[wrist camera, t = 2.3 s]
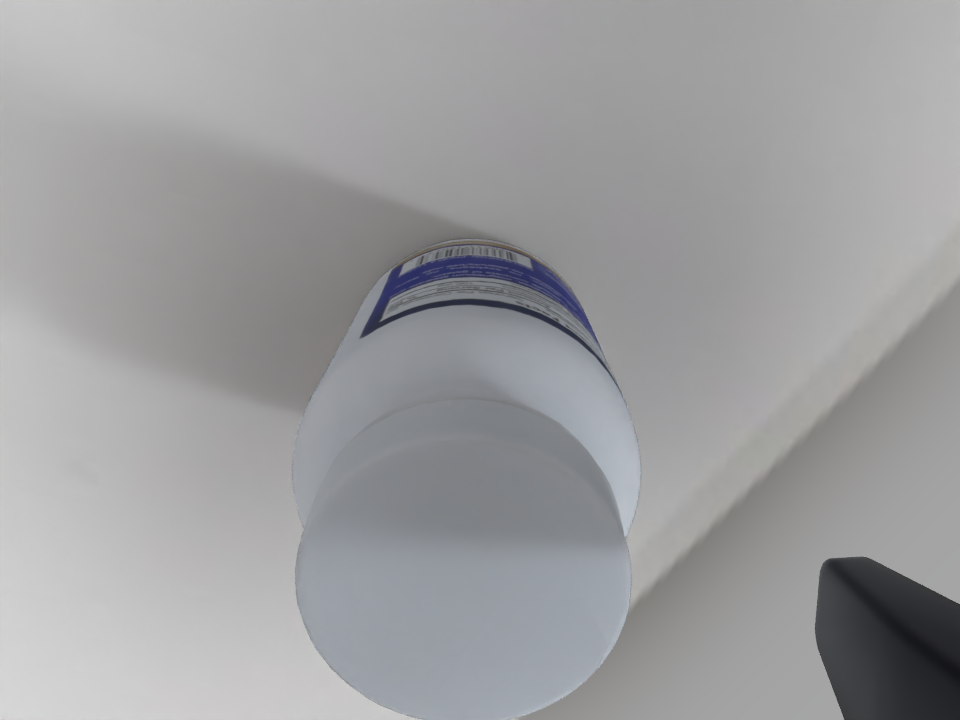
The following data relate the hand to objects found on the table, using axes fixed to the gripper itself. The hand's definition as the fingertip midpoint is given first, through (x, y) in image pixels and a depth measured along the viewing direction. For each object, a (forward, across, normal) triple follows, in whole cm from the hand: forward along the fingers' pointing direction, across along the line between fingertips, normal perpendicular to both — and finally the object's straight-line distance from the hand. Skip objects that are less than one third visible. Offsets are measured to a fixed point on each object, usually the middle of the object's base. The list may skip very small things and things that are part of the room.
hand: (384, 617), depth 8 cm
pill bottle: (+10, -1, 0) cm, 10 cm away
